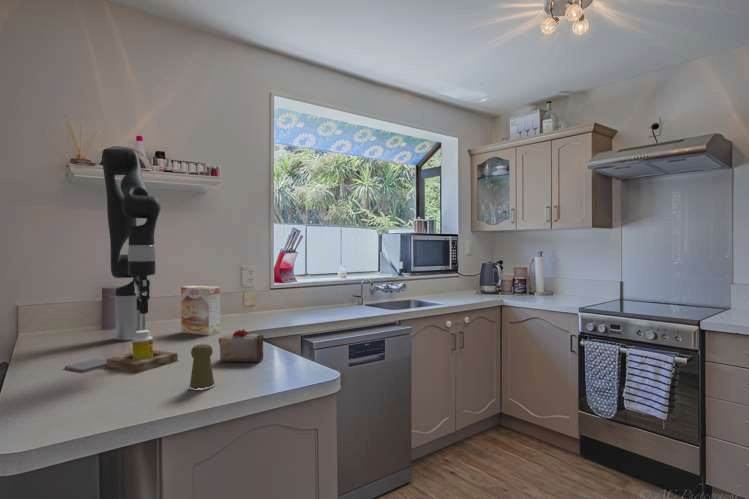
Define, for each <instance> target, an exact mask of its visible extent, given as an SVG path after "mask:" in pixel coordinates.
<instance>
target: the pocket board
mask: <svg viewBox="0 0 749 499" xmlns="http://www.w3.org/2000/svg"><path fill="white" fill-rule="evenodd" d="M178 354H179V353H178V352H171V351H164V350H159V349H153V357H152V358H148V359H144V360H140V361H138V360H133V352H129V353H125V354H121V355H117V356H113V357H108V358H106V359H105V361H106V368H111V369H115V368H116V370H120V369H121V370H122V371H126V372H131V371H132V372H131V373H136V372H138V373H141V372H144V371H147V370H146V369H148V370H151V369H154V368H153V367H155V368H158V367H161V365H162V366H165V365H167V364H172V363H175V362H178V361H179V360H178V358H179V356H178ZM174 361H175V362H174ZM171 362H172V363H171ZM164 364H165V365H164ZM157 366H158V367H157ZM150 368H151V369H150ZM143 370H144V371H143ZM140 371H141V372H140Z"/></svg>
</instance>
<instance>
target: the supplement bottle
mask: <svg viewBox="0 0 749 499" xmlns="http://www.w3.org/2000/svg"><path fill="white" fill-rule="evenodd" d="M153 340H154V338H153V336H152V335H151V331H150V330H149V329H145V330H140V331H136V332H135V338H133V340H132V353H133V360H138V361H140V360H144V359H148V358H152V357H153V350H154V346H153V345H154V343H153V342H154V341H153Z"/></svg>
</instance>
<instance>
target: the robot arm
mask: <svg viewBox="0 0 749 499" xmlns="http://www.w3.org/2000/svg"><path fill="white" fill-rule="evenodd" d="M101 161H102V170H103V176H104V182H105V184H104V185H105V191H106V207H107V210H106V211H107V223H108V231H109V240H110V243H109V244H110V273H111V276H112V277H113V278H116V279H122V278H123V279H129V278H133V279H132V281H130V282H129V283H127V284H126V285H123V286H119V287H116V289H115V293H114V294H115V340H116V341H133V338H135V332H136V331H140V330H146V314H148V313H149V301H150V298H151V296H150V293H151V292H150V291H151V289H150V285H151V281H150V279H148V276H153V275H155V274H156V249H155V229H156V225H157V221H158V218H159V215H160V211H161V202H160V201H159V200H160V199H158V198H157V197H155V196H152V195H151V196H150V195H149V192H148V189H147V187H146V185H145V182H144V179H143V173H142V168H141V163H140V158H139V155H138V153H137V152H136V151H135V150H134V149H131V148H104V149H103V150H102V154H101ZM116 176H123V177H122V179H121V181H120V186H119V185H118V183H117V180H116ZM137 219H146V221H145V222H144V223H143V224H140V225H137ZM127 240H128V248H127V249H128V250H127V254H121V250H122V248H123V246H124V244H126V242H127Z"/></svg>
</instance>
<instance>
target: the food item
mask: <svg viewBox="0 0 749 499" xmlns="http://www.w3.org/2000/svg"><path fill="white" fill-rule="evenodd" d="M218 344H219V362H220V363H250V362H251V363H260V362H261V361H262V360H263V359H264V334H261V333H248V331H246V330H245V329H244V328H243V329H242V330H240V329H239V330H237V331H236V330H235V332H234V333H233V334H232V333H230V334H223V335H221V336H220V337H219V338H218ZM262 358H263V359H262ZM261 359H262V360H261ZM260 360H261V361H260ZM259 361H260V362H259Z"/></svg>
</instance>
